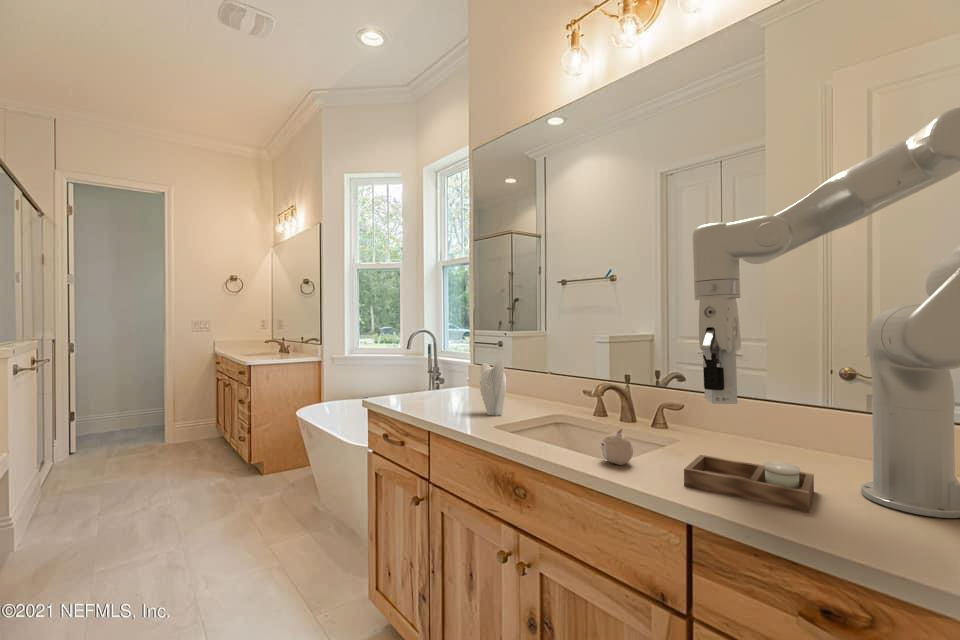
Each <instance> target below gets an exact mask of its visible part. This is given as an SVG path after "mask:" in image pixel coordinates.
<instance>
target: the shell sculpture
mask: <svg viewBox="0 0 960 640" xmlns="http://www.w3.org/2000/svg"><path fill="white" fill-rule="evenodd" d="M504 364H505V362H504V360H503V358H497V359H496V362H495V363H494V364H493V366H492V367H491V365H489V364H488V363H485V362H482V364H481V366H480V381H479V385H480V391H479V392H480V395H481V397H482V401H483V404H484V407H485V410H486V413H487V415H488V416H494V417H495V416H502V415H503V413H504V408H505V407H504V406H505V399H506V392H507V377H506V372H505V366H504Z"/></svg>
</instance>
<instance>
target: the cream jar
mask: <svg viewBox="0 0 960 640" xmlns="http://www.w3.org/2000/svg"><path fill="white" fill-rule="evenodd" d="M763 465H764V469H765V483H769V484H774V485H779V486H784V487H790V488H795V489H799V474H800V472H801V468H800V467H798V466H797V465H795V464H791V463H787V462H782V461H766V462H764V463H763Z"/></svg>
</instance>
